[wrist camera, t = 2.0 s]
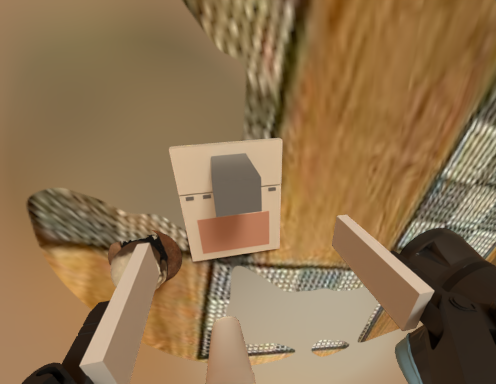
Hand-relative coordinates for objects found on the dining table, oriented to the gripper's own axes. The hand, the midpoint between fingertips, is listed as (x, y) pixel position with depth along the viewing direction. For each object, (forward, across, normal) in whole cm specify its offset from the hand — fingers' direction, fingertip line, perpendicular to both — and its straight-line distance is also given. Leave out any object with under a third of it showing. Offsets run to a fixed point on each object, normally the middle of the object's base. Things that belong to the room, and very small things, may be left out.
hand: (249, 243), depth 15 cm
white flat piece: (+19, 0, +10) cm, 22 cm away
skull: (+20, +16, +16) cm, 30 cm away
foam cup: (+19, +4, +39) cm, 44 cm away
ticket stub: (+19, 0, 0) cm, 19 cm away
